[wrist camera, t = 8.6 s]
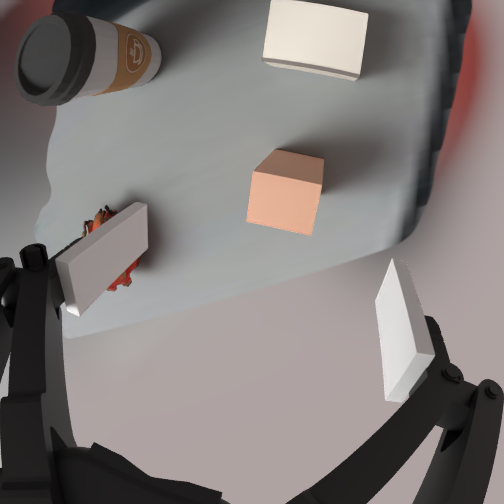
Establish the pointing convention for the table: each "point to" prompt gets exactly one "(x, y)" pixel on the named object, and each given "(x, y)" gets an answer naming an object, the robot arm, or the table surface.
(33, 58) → the coffee cup
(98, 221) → the dragon fruit
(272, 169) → the salmon orange rectangular block
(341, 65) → the cream white block
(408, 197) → the table surface
